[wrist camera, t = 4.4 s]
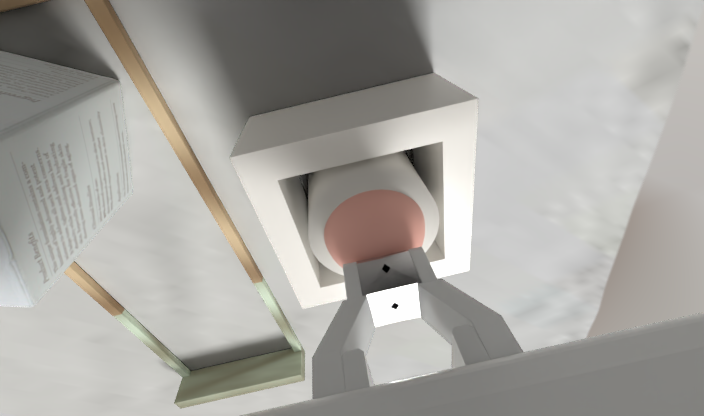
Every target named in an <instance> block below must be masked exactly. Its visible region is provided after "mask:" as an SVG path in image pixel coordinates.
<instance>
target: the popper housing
mask: <svg viewBox="0 0 704 416" xmlns="http://www.w3.org/2000/svg"><path fill="white" fill-rule="evenodd" d="M477 117H478V98H477V97H475V96H473V95H472V94H470V93H468V92H466V91H465V90H463V89H461V88H460V87H458V86H456V85H454V84H453V83H451V82H449V81H448V80H446V79H444V78H442V77H441V76H439V75H437V74H436V73H431V74H427V75H422V76H418V77H414V78H410V79H406V80H401V81H397V82H393V83H389V84H385V85H381V86H376V87H372V88H368V89H364V90H360V91H356V92H351V93H347V94H343V95H339V96H335V97H331V98H326V99H322V100H318V101H314V102H310V103H305V104H301V105H297V106H293V107H289V108H285V109H280V110H276V111H272V112H268V113H264V114H260V115H255V116H251V117H249V119H248V121H247V123H246V125H245V127H244V129H243V131H242V133H241V135H240V137H239V139H238V141H237V143H236V145H235V147H234V149H233V151H232V153H231V155H230V157H229V158H230V160H231V162H232V164H233V166H234V169H235V171H236V173H237V175H238V177H239V179H240V181H241V183H242V185H243V187H244V189H245V191H246V193H247V195H248V197H249V199H250V201H251V203H252V206H253V208H254V210H255V212H256V214H257V216H258V218H259V220H260V222H261V224H262V226H263V228H264V230H265V232H266V234H267V236H268V238H269V240H270V243H271V245H272V247H273V249H274V251H275V253H276V255H277V257H278V259H279V261H280V263H281V265H282V267H283V269H284V271H285V273H286V275H287V277H288V280H289V282H290V284H291V286H292V288H293V290H294V292H295V294H296V296H297V298H298V300H299V302H300V304H301V306H302V308H303V309H305V308H309V307H313V306H318V305H322V304H326V303H331V302H335V301H340V300H344V299H347V297H346V289H345V281H344V276H343V275H340V274H338V273H335V272H333V271H331V270H330V269H328V268H327V267H325V266H324V265H323V264H322V263H321V262H320V261H319V260H318V259H317V258H316V256H315V255H314V253H313V251H312V249H311V247H310V243H309V237H308V201H307V199H306V196H305V193H304V190H303V187H302V184H301V181H300V178H299V176H298V175H302V174H306V173H311V172H315V171H319V170H323V169H328V168H332V167H336V166H340V165H345V164H349V163H353V162H357V161H362V160H366V159H370V158H374V157H378V156H383V155H387V154H391V153H395V152H400V151H404V150H408V149H412V148H413V155H414V167H415V170H416V172H417V173H418V175H419V176H420V178H421V179H422V181H423V183H424V184H425V186H426V187H427V189H428V191H429V192H430V194H431V195H432V197H433V198H434V200H435V202H436V204H437V207H438V211H439V228H438V232H437V235H436V237H435V239H434V241H433V243H432V245H431V246H430V248H429V249H428V250H427V251H426V253H425V254H426V256H427V258H428V260H429V262H430V264H431V267H432V269H433V271H434V273H435V275H436V277H437V278H440V277H444V276H449V275H453V274H457V273H462V272H466V271H470V251H471V232H472V213H473V194H474V175H475V155H476V136H477Z"/></svg>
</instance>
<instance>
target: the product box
mask: <svg viewBox="0 0 704 416" xmlns="http://www.w3.org/2000/svg"><path fill="white" fill-rule="evenodd" d="M132 194H133V184H132V175H131V166H130V157H129V148H128V140H127V131H126V123H125V115H124V107H123V99H122V92H121V84H120V82H119V81H118V80H116V79H113V78H110V77H105V76H101V75H97V74H93V73H89V72H85V71H81V70H77V69H73V68H69V67H65V66H61V65H57V64H53V63H49V62H45V61H41V60H37V59H33V58H29V57H25V56H21V55H17V54H13V53H9V52H5V51H1V50H0V306H13V307H33V306H35V305H36V304H37V303H38V301H39V300H40V299H41V298H42V297H43V296H44V295H45V293H46V292H47V291H48V290H49V289H50V288H51V287H52V285H53V284H54V283H55V282H56V281H57V280H58V279H59V278H60V277H61V275H62V274H63V273H64V272H65V271H66V270H67V269H68V267H69V266H70V265H71V264H72V263H73V261H74V260H75V259H76V258H77V257H78V256H79V254H80V253H81V252H82V251H83V250H84V249H85V247H86V246H87V245H88V244H89V243H90V242H91V241H92V239H93V238H94V237H95V236H96V235H97V234H98V232H99V231H100V230H101V229H102V228H103V227H104V226H105V224H106V223H107V222H108V221H109V220H110V219H111V217H112V216H113V215H114V214H115V213H116V212H117V211H118V210H119V209H120V207H121V206H122V205H123V204H124V203H125V202H126V200H127V199H128V198H129V197H130V196H131V195H132Z"/></svg>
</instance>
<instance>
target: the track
mask: <svg viewBox="0 0 704 416" xmlns="http://www.w3.org/2000/svg"><path fill="white" fill-rule="evenodd" d="M45 1H49V0H0V13H1V12H5V11H9V10H13V9H17V8H21V7H25V6H29V5H33V4H37V3H41V2H45ZM84 1H85V2H86V4H87V6H88V7H89V9H90V11H91V12H92V14H93V16H94V17H95V19H96V21H97V22H98V24H99V26H100V28H101V29H102V31H103V33H104V34H105V36H106V38H107V39H108V41H109V43H110V44H111V46H112V48H113V49H114V51H115V53H116V54H117V56H118V58H119V59H120V61H121V63H122V64H123V66H124V68H125V69H126V71H127V73H128V74H129V76H130V78H131V79H132V81H133V83H134V84H135V86H136V88H137V89H138V91H139V93H140V94H141V96H142V98H143V99H144V101H145V103H146V104H147V106H148V108H149V109H150V111H151V113H152V115H153V116H154V118H155V120H156V121H157V123H158V125H159V126H160V128H161V130H162V131H163V133H164V135H165V136H166V138H167V140H168V141H169V143H170V145H171V146H172V148H173V150H174V151H175V153H176V155H177V156H178V158H179V160H180V161H181V163H182V165H183V166H184V168H185V170H186V171H187V173H188V175H189V176H190V178H191V180H192V181H193V183H194V185H195V186H196V188H197V190H198V191H199V193H200V195H201V196H202V198H203V200H204V201H205V203H206V205H207V207H208V208H209V210H210V212H211V213H212V215H213V217H214V218H215V220H216V222H217V223H218V225H219V227H220V228H221V230H222V232H223V233H224V235H225V237H226V238H227V240H228V242H229V243H230V245H231V247H232V248H233V250H234V252H235V253H236V255H237V257H238V258H239V260H240V262H241V263H242V265H243V267H244V268H245V270H246V272H247V273H248V275H249V277H250V278H251V280H252V282H253V283H254V285H255V287H256V288H257V290H258V292H259V293H260V295H261V297H262V299H263V300H264V302H265V304H266V305H267V307H268V309H269V310H270V312H271V314H272V315H273V317H274V319H275V320H276V322H277V324H278V325H279V327H280V329H281V330H282V332H283V334H284V335H285V337H286V339H287V340H288V342H289V344H290V345H291V347H292V348H291V349H286V350H282V351H278V352H273V353H269V354H264V355H260V356H256V357H251V358H247V359H242V360H238V361H234V362H229V363H225V364H220V365H216V366H212V367H207V368H203V369H198V370H194V371H190V370H189V369H188V368H187V367H186V366H185V365H184V364H183V363H182V362H181V361H180V360H179V359H177V358H176V357H175V356H174V355H173V354H172V353H171V352H170V351H169V350H168V349H167V348H166V347H165V346H164V345H162V344H161V343H160V342H159V341H158V340H157V339H156V338H155V337H154V336H153V335H152V334H151V333H150V332H149V331H147V330H146V329H145V328H144V327H143V326H142V325H141V324H140V323H139V322H138V321H137V320H136V319H135V318H134V317H133V316H131V315H130V314H129V313H128V312H127V311H126V310H125V309H124V308H123V307H122V306H121V305H120V304H119V303H118V302H116V301H115V300H114V299H113V298H112V297H111V296H110V295H109V294H108V293H107V292H106V291H105V290H104V289H103V288H102V287H100V286H99V285H98V284H97V283H96V282H95V281H94V280H93V279H92V278H91V277H90V276H89V275H88V274H87V273H85V272H84V271H83V270H82V269H81V268H80V267H79V266H78V265H77V264H76V263H75V262H74V261H73V263H72V264H71V265H70V266H69V267H68V269H67V270H66V271H65V272H64V273H65V274H66V275H67V276H68V277H69V278H71V279H72V280H73V281H74V282H75V283H76V284H77V285H78V286H80V287H81V288H82V289H83V290H84V291H85V292H86V293H88V294H89V295H90V296H91V297H92V298H93V299H94V300H95V301H97V302H98V303H99V304H100V305H101V306H102V307H103V308H105V309H106V310H107V311H108V312H109V313H110V314H111V315H112V316H114V317H115V318H116V319H117V320H118V321H119V322H120V323H122V324H123V325H124V326H125V327H126V328H127V329H128V330H129V331H131V332H132V333H133V334H134V335H135V336H136V337H137V338H139V339H140V340H141V341H142V342H143V343H144V344H145V345H146V346H148V347H149V348H150V349H151V350H152V351H153V352H154V353H156V354H157V355H158V356H159V357H160V358H161V359H162V360H163V361H165V362H166V363H167V364H168V365H169V366H170V367H171V368H173V369H174V370H175V371H176V372H177V373H178V374H179V375H180V376H182V377H183V378H182V381H181V384H180V387H179V390H178V393H177V396H176V399H175V402H174V404H176V405H177V406H178V407H180V408H185V407H189V406H194V405H198V404H202V403H207V402H211V401H216V400H220V399H225V398H229V397H233V396H238V395H242V394H247V393H251V392H256V391H260V390H264V389H269V388H273V387H278V386H282V385H287V384H291V383H295V382H300V381H304V380H305V351H304V350H303V348H302V346H301V344H300V342H299V341H298V339H297V337H296V335H295V334H294V332H293V330H292V328H291V326H290V325H289V323H288V321H287V319H286V317H285V316H284V314H283V312H282V310H281V308H280V307H279V305H278V303H277V301H276V300H275V298H274V296H273V294H272V292H271V291H270V289H269V287H268V285H267V283H266V282H265V280H264V278H263V276H262V274H261V273H260V271H259V269H258V267H257V265H256V264H255V262H254V260H253V258H252V257H251V255H250V253H249V251H248V249H247V248H246V246H245V244H244V242H243V240H242V239H241V237H240V235H239V233H238V231H237V230H236V228H235V226H234V224H233V223H232V221H231V219H230V217H229V215H228V214H227V212H226V210H225V208H224V206H223V205H222V203H221V201H220V199H219V197H218V196H217V194H216V192H215V190H214V188H213V187H212V185H211V183H210V181H209V180H208V178H207V176H206V174H205V172H204V171H203V169H202V167H201V165H200V163H199V162H198V160H197V158H196V156H195V154H194V153H193V151H192V149H191V147H190V146H189V144H188V142H187V140H186V138H185V137H184V135H183V133H182V131H181V129H180V128H179V126H178V124H177V122H176V120H175V119H174V117H173V115H172V113H171V111H170V110H169V108H168V106H167V104H166V103H165V101H164V99H163V97H162V95H161V94H160V92H159V90H158V88H157V86H156V85H155V83H154V81H153V79H152V77H151V76H150V74H149V72H148V70H147V69H146V67H145V65H144V63H143V61H142V60H141V58H140V56H139V54H138V52H137V51H136V49H135V47H134V45H133V43H132V42H131V40H130V38H129V36H128V35H127V33H126V31H125V29H124V27H123V26H122V24H121V22H120V20H119V18H118V17H117V15H116V13H115V11H114V9H113V8H112V6H111V4H110V2H109V0H84Z"/></svg>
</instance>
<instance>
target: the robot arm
mask: <svg viewBox="0 0 704 416" xmlns="http://www.w3.org/2000/svg"><path fill="white" fill-rule="evenodd" d="M343 273H344V281H345V289H346V297H347V300H345V301H343V302H342V304H341V306H340V307H339V309H338V311H337V313H336V315H335V317H334V319H333V320H332V322H331V324H330V326H329V328H328V330H327V331H326V333H325V335H324V337H323V339H322V341H321V342H320V344H319V346H318V348H317V350H316V352H315V354H314V355H313V357H312V391H313V399H312V400H308V401H303V402H299V403H294V404H290V405H285V406H281V407H276V408H272V409H268V410H263V411H259V412H254V413H250V414H245V415H241V416H704V312H702V313H698V314H693V315H689V316H684V317H680V318H675V319H671V320H666V321H662V322H658V323H653V324H649V325H644V326H640V327H635V328H630V329H626V330H622V331H618V332H613V333H608V334H604V335H599V336H595V337H590V338H586V339H581V340H577V341H572V342H568V343H563V344H559V345H554V346H550V347H545V348H541V349H536V350H532V351H527V352H523V350H522V349H521V347H520V346H519V344H518V342H517V341H516V339H515V337H514V336H513V334H512V332H511V331H510V329H509V328H508V326H507V324H506V323H505V321H504V319H503V318H502V316H501V315H499V314H498V313H496V312H495V311H493V310H491V309H490V308H488V307H487V306H485V305H483V304H482V303H480V302H478V301H477V300H475V299H474V298H472V297H470V296H469V295H467V294H466V293H464V292H462V291H461V290H459V289H458V288H456V287H454V286H453V285H451V284H450V283H448V282H446V281H445V280H443V279H437V277H436V275H435V273H434V271H433V269H432V267H431V264H430V262H429V260H428V258H427V256H426V254H425V252H424V249H423V248H422V247H417V248H413V249H408V250H404V251H400V252H396V253H392V254H388V255H383V256H380V257H375V258H370V259H365V260H360V261H356V262H352V263H347V264H343ZM417 317H421V318H422V319H423V320H424V321H425V322H426V323H427V324H428V325H430V326H431V327H432V328H433V329H434V330H435V331H436V332H437V333H438V334H439V335H441V336H442V337H443V338H444V339H445V340H446V341H447V342H448V343H449V344H451V345H452V368H451V369H446V370H442V371H438V372H433V373H429V374H424V375H420V376H415V377H411V378H406V379H402V380H397V381H393V382H388V383H384V384H379V385H375V384H374V381H373V378H372V375H371V372H370V369H369V366H368V363H367V360H366V355H367V352H368V349H369V346H370V343H371V340H372V337H373V335H374V332H375V329H376V328H375V327H377V326H381V325H385V324H389V323H393V322H397V321H402V320H407V319H412V318H417Z"/></svg>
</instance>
